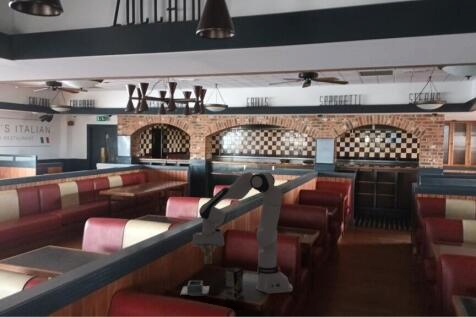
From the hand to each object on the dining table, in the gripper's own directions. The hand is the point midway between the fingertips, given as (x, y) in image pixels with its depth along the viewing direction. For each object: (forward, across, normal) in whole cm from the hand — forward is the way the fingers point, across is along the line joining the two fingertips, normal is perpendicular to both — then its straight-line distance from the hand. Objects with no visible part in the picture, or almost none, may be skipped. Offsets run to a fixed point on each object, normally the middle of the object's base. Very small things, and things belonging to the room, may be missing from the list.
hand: (207, 251), depth 247 cm
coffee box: (+28, +17, +4) cm, 33 cm away
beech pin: (+5, 0, +6) cm, 7 cm away
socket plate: (+22, -7, +9) cm, 25 cm away
